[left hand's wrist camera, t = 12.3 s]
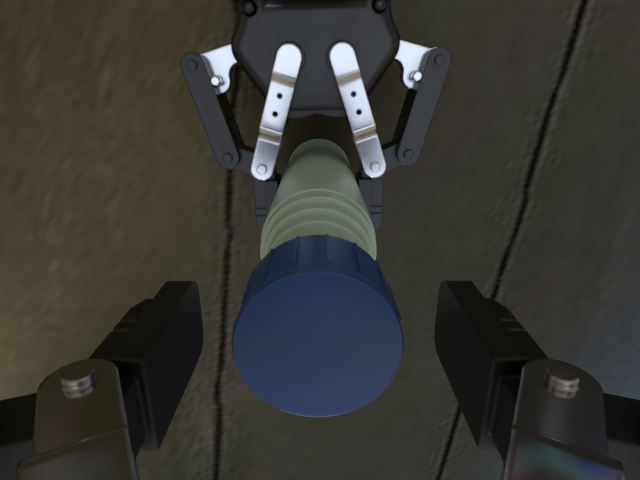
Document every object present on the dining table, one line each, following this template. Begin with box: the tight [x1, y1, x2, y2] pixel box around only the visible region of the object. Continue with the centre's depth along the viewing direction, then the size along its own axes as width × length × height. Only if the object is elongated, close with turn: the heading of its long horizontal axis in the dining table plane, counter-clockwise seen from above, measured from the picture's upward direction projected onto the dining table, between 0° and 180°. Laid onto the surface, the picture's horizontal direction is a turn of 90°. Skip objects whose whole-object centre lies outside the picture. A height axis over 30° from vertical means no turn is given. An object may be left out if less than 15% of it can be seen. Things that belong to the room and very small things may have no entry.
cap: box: [232, 234, 404, 417], centre depth 11 cm, size 4×4×2 cm
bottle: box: [260, 139, 377, 261], centre depth 21 cm, size 4×4×22 cm
